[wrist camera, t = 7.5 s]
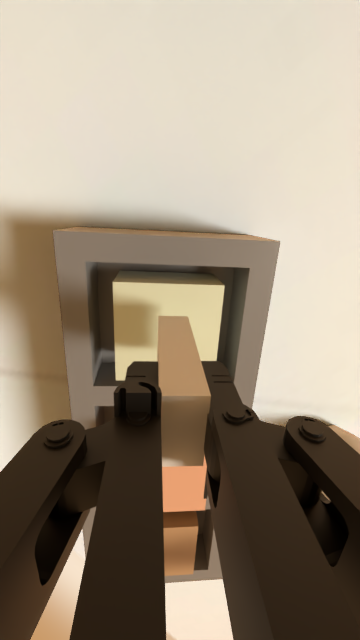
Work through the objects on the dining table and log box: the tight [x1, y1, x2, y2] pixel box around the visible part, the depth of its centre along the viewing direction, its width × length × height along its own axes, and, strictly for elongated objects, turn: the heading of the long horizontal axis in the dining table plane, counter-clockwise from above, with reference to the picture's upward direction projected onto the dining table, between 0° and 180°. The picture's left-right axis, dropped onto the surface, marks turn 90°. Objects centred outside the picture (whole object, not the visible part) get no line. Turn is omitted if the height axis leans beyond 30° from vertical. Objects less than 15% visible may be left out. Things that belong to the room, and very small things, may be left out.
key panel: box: [53, 227, 280, 583], centre depth 22 cm, size 30×12×5 cm, turn 177°
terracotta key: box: [162, 454, 207, 512], centre depth 20 cm, size 6×6×3 cm
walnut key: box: [163, 511, 198, 576], centre depth 24 cm, size 6×6×3 cm
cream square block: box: [113, 271, 225, 380], centre depth 18 cm, size 6×6×3 cm
